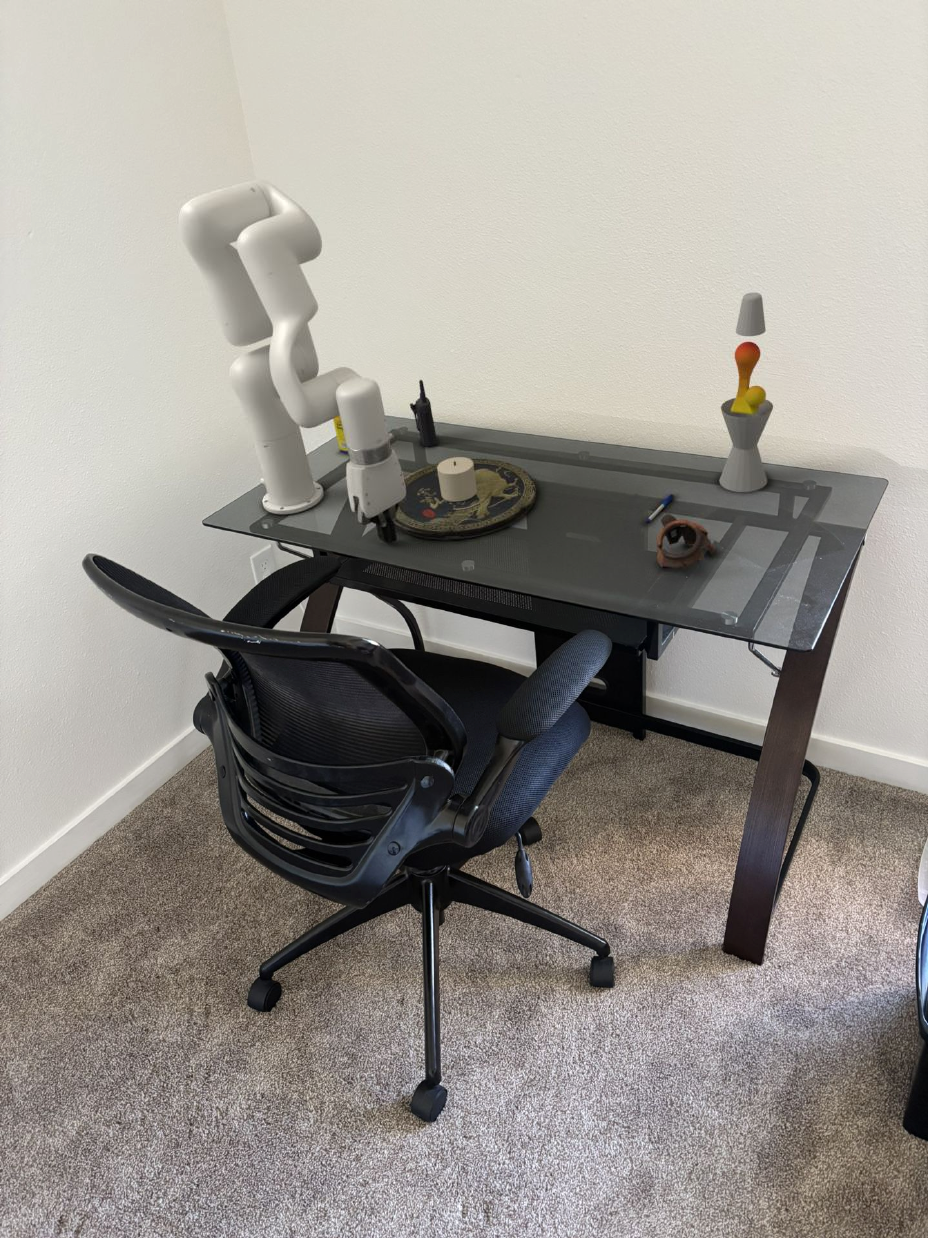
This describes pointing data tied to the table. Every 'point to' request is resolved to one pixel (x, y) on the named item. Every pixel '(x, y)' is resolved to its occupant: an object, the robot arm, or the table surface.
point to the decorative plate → (465, 502)
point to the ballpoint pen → (660, 508)
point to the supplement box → (340, 435)
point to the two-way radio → (424, 418)
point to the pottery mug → (690, 535)
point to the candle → (457, 479)
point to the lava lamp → (746, 406)
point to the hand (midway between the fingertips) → (388, 540)
